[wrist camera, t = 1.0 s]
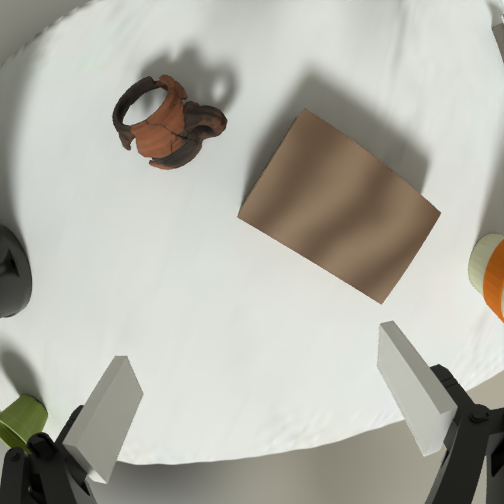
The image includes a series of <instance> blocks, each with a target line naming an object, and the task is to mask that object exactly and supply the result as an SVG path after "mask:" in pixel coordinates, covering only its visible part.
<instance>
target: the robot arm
mask: <svg viewBox="0 0 504 504" xmlns="http://www.w3.org/2000/svg"><path fill="white" fill-rule="evenodd" d="M31 290H32V282H31V273H30V268H29V264H28V261H27V258H26V256H25V253H24V251H23V249H22V247H21V245H20V243H19V242H18V240H17V239H16V237H15V236H14V235H13V234H12V232H11V231H10V230H8V229H7V228H6V227H4V226H3V225H0V318H2V317H12V316H14V315H16V314H17V313H19V312H20V311H21V310H23V309H24V308H25V307H26V306H27V304H28V302H29V300H30V296H31ZM377 367H378V369H379V371H380V373H381V375H382V376H383V378H384V380H385V382H386V384H387V386H388V388H389V389H390V391H391V393H392V395H393V397H394V399H395V401H396V403H397V405H398V407H399V409H400V410H401V412H402V414H403V416H404V418H405V420H406V422H407V424H408V426H409V428H410V430H411V432H412V434H413V436H414V438H415V440H416V442H417V444H418V446H419V448H420V450H421V452H422V455H423V457H425V456H428V455H430V454H433V453H435V452H438V451H440V449H441V447H442V445H443V442H444V444H445V446H446V448H447V450H446V452H445V454H444V456H443V458H442V460H441V462H442V463H441V466H440V469H439V471H438V474H437V476H436V479H435V481H434V484H433V486H432V488H431V491H430V493H429V495H428V497H427V500H426V502H425V504H471V503H472V500H473V496H474V493H475V490H476V487H477V484H478V480H479V476H480V473H481V469H482V465H483V461H484V457H485V456H487V494H486V504H504V408H499V409H494V410H489V409H488V408H487V407H486V406H483V405H480V404H475V403H473V401H472V400H471V398H470V397H469V396H468V395H467V393H466V392H465V391H464V389H463V388H462V387H461V385H460V384H458V382H457V380H456V379H455V378H454V377H453V375H452V374H451V373H450V371H449V370H448V369H446V368H445V367H443V366H441V365H440V364H438V365H435V366H432V367H429V366H428V365H427V364H426V362H425V361H424V360H423V358H422V357H421V356H420V354H419V353H418V352H417V350H416V349H415V348H414V347H413V345H412V344H411V343H410V341H409V340H408V339H407V338H406V336H405V335H404V334H403V332H402V331H401V330H400V329H399V327H398V326H397V325H396V324H395V322H394V321H390V322H385V323H381V324H380V326H379V345H378V359H377ZM142 396H143V391H142V389H141V387H140V385H139V383H138V380H137V378H136V376H135V374H134V371H133V369H132V367H131V364H130V362H129V360H128V357H127V356H115V357H114V359H113V360H112V362H111V363H110V365H109V366H108V368H107V369H106V371H105V373H104V374H103V376H102V377H101V379H100V381H99V382H98V384H97V385H96V387H95V389H94V390H93V392H92V394H91V395H90V397H89V398H88V400H87V402H86V403H85V405H80V406H79V407H78V408H77V409H75V410H74V411H73V413H72V414H71V416H70V418H69V420H68V421H67V423H66V426H64V427H63V429H62V431H61V432H60V434H59V436H58V438H57V439H56V441H55V443H54V442H53V440H52V439H51V438H50V437H49V435H48V434H46V433H44V432H39V433H36V434H34V435H32V436H31V437H30V438H29V439H28V441H27V445H26V447H27V448H28V449H29V450H30V452H31V453H32V454H27V453H26V452H25V451H24V450H23V448H21V447H13V448H11V449H9V450H8V451H7V453H6V455H5V458H4V464H3V470H2V477H1V485H0V504H97V502H96V500H95V498H94V496H93V493H92V491H91V489H90V487H89V484H88V483H87V481H86V480H85V478H86V475H87V474H88V475H89V477H90V478H91V479H92V480H93V481H96V482H101V483H105V484H107V483H108V480H109V478H110V475H111V473H112V470H113V467H114V465H115V462H116V460H117V457H118V455H119V452H120V450H121V447H122V445H123V442H124V440H125V437H126V435H127V432H128V430H129V427H130V425H131V423H132V420H133V418H134V415H135V413H136V411H137V408H138V406H139V403H140V401H141V399H142ZM29 488H30V489H29Z"/></svg>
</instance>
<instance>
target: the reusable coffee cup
mask: <svg viewBox="0 0 504 504" xmlns="http://www.w3.org/2000/svg"><path fill="white" fill-rule="evenodd" d="M468 277H469V280H470V283H471V284H472V286H473V287H474V288H475V289H476V290H477V291H478V292H479V293H480V294H481V295H482V296H483V297H484V299H485V302H486V304H487V305H488V306H489V307H490V308H491V309H492V311H493V312H494V313H495V314H496V315H497V316H498V317H499V318H500V319H501V320H502V322H503V323H504V235H501V234H496V233H490V234H487V235H485V236H483V237H482V238H481V239H480V240H479V241H478V242H477V244H476V245H475V247H474V249H473V251H472V253H471V256H470V259H469V264H468Z"/></svg>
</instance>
